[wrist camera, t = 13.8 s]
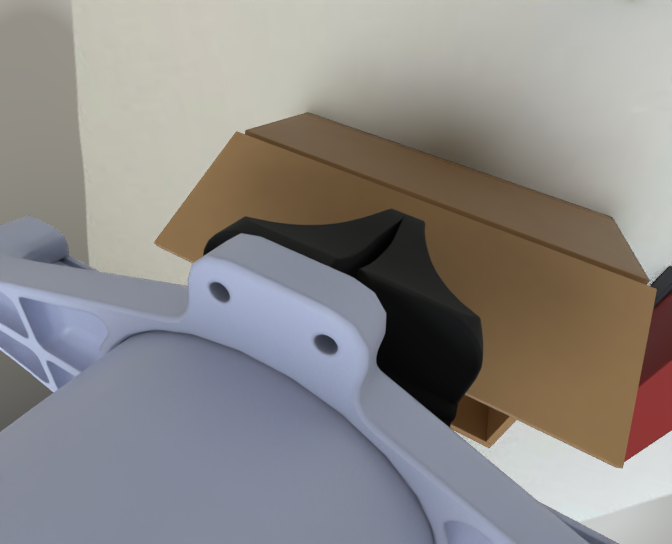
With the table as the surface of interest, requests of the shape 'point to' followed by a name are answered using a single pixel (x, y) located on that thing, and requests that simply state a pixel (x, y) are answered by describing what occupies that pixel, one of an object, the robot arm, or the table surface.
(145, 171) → the table surface
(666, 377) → the stapler
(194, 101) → the table surface
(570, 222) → the carton
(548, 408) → the flap
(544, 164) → the table surface
